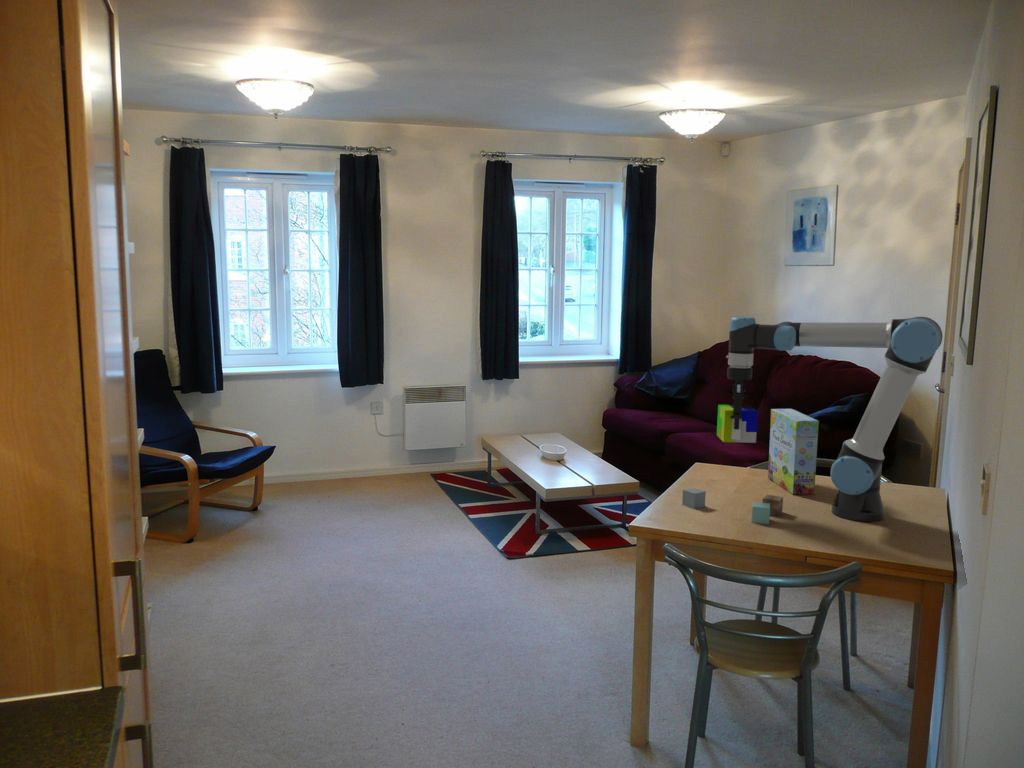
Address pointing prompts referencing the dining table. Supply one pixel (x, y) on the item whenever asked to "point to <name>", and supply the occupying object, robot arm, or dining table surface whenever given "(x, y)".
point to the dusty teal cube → (760, 512)
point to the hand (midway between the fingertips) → (736, 435)
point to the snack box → (793, 451)
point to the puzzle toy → (746, 424)
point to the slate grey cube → (694, 498)
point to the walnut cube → (774, 504)
